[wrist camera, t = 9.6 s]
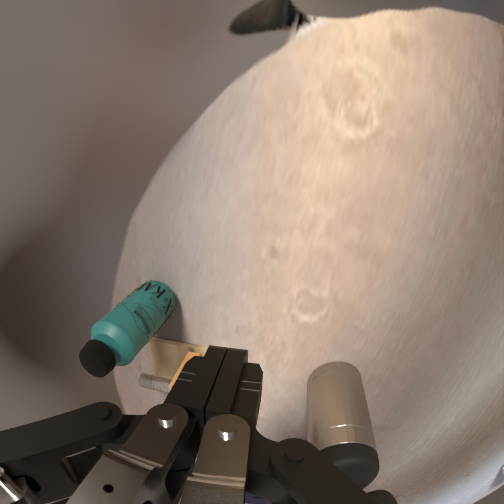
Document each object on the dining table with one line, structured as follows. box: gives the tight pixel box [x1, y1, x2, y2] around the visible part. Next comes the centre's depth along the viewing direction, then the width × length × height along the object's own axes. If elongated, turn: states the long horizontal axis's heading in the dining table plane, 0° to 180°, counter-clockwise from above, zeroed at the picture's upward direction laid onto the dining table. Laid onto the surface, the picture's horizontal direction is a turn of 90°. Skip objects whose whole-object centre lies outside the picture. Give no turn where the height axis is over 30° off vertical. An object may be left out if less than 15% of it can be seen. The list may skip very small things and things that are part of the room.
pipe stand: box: [139, 337, 208, 393], centre depth 46 cm, size 14×10×9 cm
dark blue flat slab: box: [245, 492, 266, 504], centre depth 57 cm, size 24×30×4 cm
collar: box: [169, 351, 200, 390], centre depth 44 cm, size 2×9×9 cm, turn 177°
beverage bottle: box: [79, 281, 175, 377], centre depth 37 cm, size 6×7×20 cm
